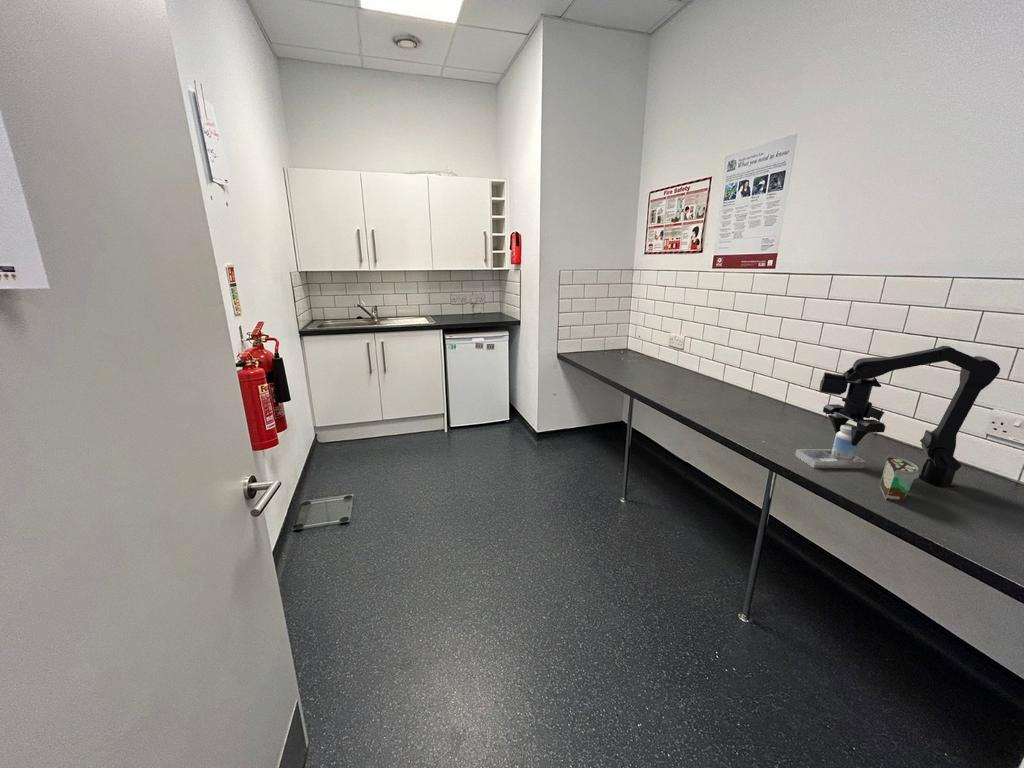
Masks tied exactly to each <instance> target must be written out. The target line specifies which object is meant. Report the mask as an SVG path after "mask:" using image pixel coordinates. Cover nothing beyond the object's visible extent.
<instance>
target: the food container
mask: <svg viewBox="0 0 1024 768" xmlns="http://www.w3.org/2000/svg"><path fill="white" fill-rule="evenodd" d="M919 475H920V470H919V466H917V465H916V464H915V463H913V462H911V461H909V460H907V459H905V458H902V457H898V456H896V455H892V454H891V455H890V454H887V456H886V459H885V464H884V468H883V472H882V475H881V478H880V481H879V488H880V490H881V492H882V494H883V497H884V499H885V501H889V502H896V501H900V502H904V501H905V500H906V498H907V496H908V493H909V492H910V489H911V487H912V485H913V483H914V480H915V479H919Z"/></svg>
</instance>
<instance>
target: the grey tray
mask: <svg viewBox="0 0 1024 768" xmlns="http://www.w3.org/2000/svg"><path fill="white" fill-rule="evenodd" d="M832 449H833V448H831V449H828V448H827V449H826V448H824V449H820V448H819V449H812V448H811V449H808V448H806V449H804V448H803V449H800V448H798V449H796V450H795V455H794V456H795V458H798V459H799V460H800V459H801V460H800V461H802V462H803V461H804V463H805V464H806V463H807V465H808V466H809V465H810V466H809V467H811V468H812V467H813V469H864V468H865V466H866V461H865V460H864V459H862V458H861V457H859V456H857V455H855V456H854V460H853V461H841V460H838V459H837V458H835V457H833V456H832V455H831V453H832Z"/></svg>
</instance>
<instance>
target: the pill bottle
mask: <svg viewBox="0 0 1024 768" xmlns="http://www.w3.org/2000/svg"><path fill="white" fill-rule="evenodd" d="M852 427H855V426H853V425H849V424H845V425H841V428H840V430H841V431H839V432H837V433H835V438H834V441H833V445H832V448H831V449H832V453H831V455H832V456H833V457H835V458H837V459H838V460H841V461H853V460H854V456H856V452H857V449H858V444H859V443H858V444H857V445H856V446H852Z"/></svg>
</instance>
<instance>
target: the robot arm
mask: <svg viewBox="0 0 1024 768" xmlns="http://www.w3.org/2000/svg"><path fill="white" fill-rule="evenodd" d="M854 361H855V360H854ZM940 362H948V363H950V364H952V365H954V366H957V367H959V368H960V372H959V385H958V387H957V389H956V391H955V392H954V395H953V397H952V399H951V400H950V401H949V404H948V406H947V408H946V409H945V412H944V414H943V415H942V417H941V419H940V421H939V423H938V425H937V427H936V428H934V429H933V430H932V431H931V430H927V429H926V430H925V431H924V434H923V437H922V438H921V439H920V440H919V442H920V443H921V448H922V450H923V451H924V452H925V454H926V455H927V458H926V461H925V462H924V463H923V466H922V469H921V471H920V474H919V477H918V479H921V480H923V481H925V482H926V483H928V484H930V485H932V486H934V487H956V486H957V485H956V484H955V483H953V481H954V477H955V475H956V472H957V471H958V470H959V469H961V467H962V464H961V463H960V462H959V461H958V460H957V459H956V458H955V451H956V447H957V436H958V433H959V431H960V429H961V427H962V425H963V424H964V421H966V418H967V416H968V415H969V413H970V411H971V409H972V408H973V405H974V404H975V402H976V400H977V398H978V396H979V394H980V393H981V391H983V390H984V389H985V388H987V387H988V386H989V385H991V384H992V382H993V381H994V380H995V379H996V378H997V377H998V375H999V374H1000V371H1001V366H999V364H998V363H997V362H995V361H994V360H991V359H990V358H987V357H985V356H981V355H975V356H972V355H969V354H967V353H964V352H962V351H959V350H957V349H956V348H954V347H952V346H949V345H941V346H938V347H935V348H934V347H933V348H929V349H928V348H927V349H922V350H918V351H915V352H910V353H909V352H908V353H903V354H898V355H894V356H885V357H882V356H881V357H877V356H876V357H875V356H873V357H861V358H858V359H857V360H856V361H855V362H853V365H852V367H850V368H849V369H848V370H846V371H845V372H843V373H842V374H838V373H831V372H827V371H826V372H824V374H823V376H822V379H821V380H820V384H819V393H822V394H828V395H829V394H831V395H837V396H841V395H844V394H845V393H846V392H847V393H846V397H842V399H841V402H844V405H842V404H838V403H837V404H830V403H829V404H828V403H827V404H826V405H824V406H823V409H822V413H824V414H826V415H827V418H829V420H830V422H831V424H832V427H833V430H834V433H835V434H836V433H837V432H839V431H841V430H840V428H841V425H847V422H849V421H852V422H855V423H856V426H854V427H852V446H856V445H857V444H859V443H860V442H861V441H862V439H863V438H864V437H865V436H867V434H869V433H885V430H886V427H887V426H886V424H885V423H884V422H882V421H880V420H881V419H882V417H883V416H884V415H885V411H883V410H880V409H877V408H876V407H873V402H870V401H869V400H870V397H871V393H872V390H873V387H874V388H876V387H877V388H882V385H881V383H880V382H879V381H878V379H877V377H880V376H883V375H885V374H887V373H890V372H892V371H897V370H902V369H907V368H908V369H909V368H915V367H919V366H924V365H931V364H935V363H940ZM871 418H872V419H871ZM857 446H858V445H857Z"/></svg>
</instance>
